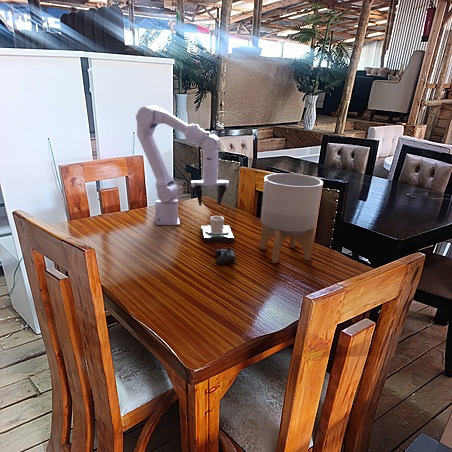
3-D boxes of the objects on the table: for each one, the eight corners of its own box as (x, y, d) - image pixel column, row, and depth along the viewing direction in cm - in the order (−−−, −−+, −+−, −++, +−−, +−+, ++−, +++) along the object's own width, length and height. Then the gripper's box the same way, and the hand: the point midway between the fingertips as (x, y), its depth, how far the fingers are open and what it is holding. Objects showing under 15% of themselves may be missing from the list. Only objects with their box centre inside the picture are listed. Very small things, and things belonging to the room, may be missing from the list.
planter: (300, 269, 131) (312, 189, 118) (248, 256, 138) (254, 180, 126) (317, 251, 145) (330, 179, 133) (270, 240, 153) (278, 170, 140)
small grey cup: (209, 231, 152) (209, 219, 149) (210, 226, 156) (211, 215, 154) (223, 232, 151) (223, 220, 149) (224, 227, 156) (224, 216, 154)
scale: (204, 242, 148) (204, 236, 147) (201, 230, 159) (201, 224, 158) (233, 242, 149) (233, 236, 148) (228, 230, 161) (228, 224, 159)
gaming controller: (213, 252, 138) (225, 240, 136) (223, 262, 140) (236, 251, 138) (214, 263, 129) (228, 251, 128) (225, 274, 132) (239, 262, 130)
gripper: (225, 167, 157) (224, 201, 164) (189, 167, 153) (189, 202, 160) (231, 171, 151) (229, 206, 158) (193, 171, 147) (193, 207, 154)
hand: (209, 204), depth 158 cm, fingers open, 7 cm apart
